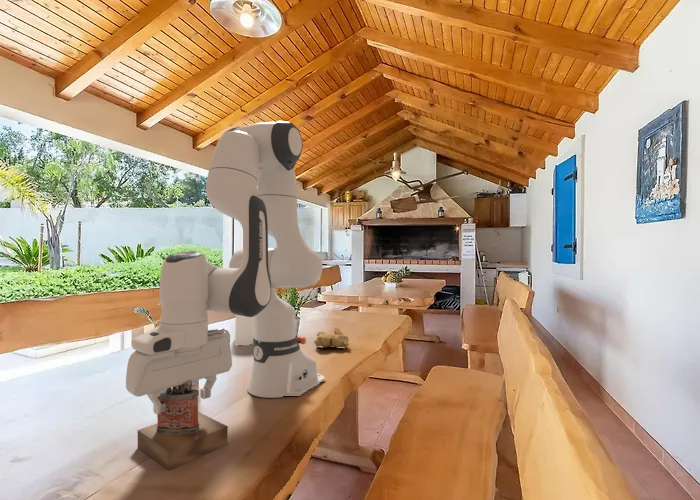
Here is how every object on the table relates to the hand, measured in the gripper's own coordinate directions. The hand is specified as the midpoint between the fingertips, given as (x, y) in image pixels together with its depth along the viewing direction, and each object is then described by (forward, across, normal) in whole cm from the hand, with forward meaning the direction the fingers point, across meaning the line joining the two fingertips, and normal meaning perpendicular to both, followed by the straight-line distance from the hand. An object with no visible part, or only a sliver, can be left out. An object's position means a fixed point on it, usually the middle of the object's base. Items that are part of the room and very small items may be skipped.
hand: (183, 404), depth 77 cm
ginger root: (+9, -76, -27) cm, 81 cm away
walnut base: (+8, 0, 0) cm, 8 cm away
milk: (+8, -61, -59) cm, 85 cm away
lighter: (+5, +1, 0) cm, 5 cm away
